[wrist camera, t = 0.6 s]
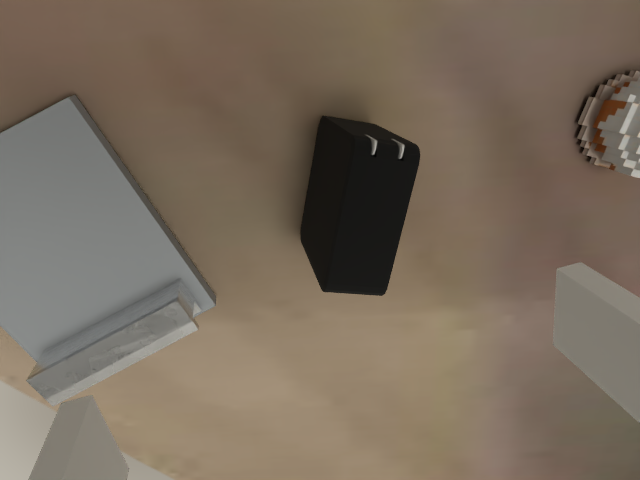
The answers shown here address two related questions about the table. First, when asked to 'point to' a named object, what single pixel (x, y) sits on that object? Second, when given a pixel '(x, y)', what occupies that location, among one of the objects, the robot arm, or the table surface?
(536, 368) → the table surface
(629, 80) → the decorative ornament
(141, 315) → the rail
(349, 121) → the electronic device
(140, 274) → the mounting plate
